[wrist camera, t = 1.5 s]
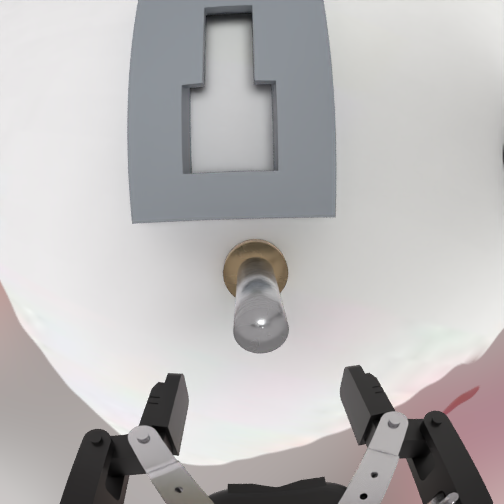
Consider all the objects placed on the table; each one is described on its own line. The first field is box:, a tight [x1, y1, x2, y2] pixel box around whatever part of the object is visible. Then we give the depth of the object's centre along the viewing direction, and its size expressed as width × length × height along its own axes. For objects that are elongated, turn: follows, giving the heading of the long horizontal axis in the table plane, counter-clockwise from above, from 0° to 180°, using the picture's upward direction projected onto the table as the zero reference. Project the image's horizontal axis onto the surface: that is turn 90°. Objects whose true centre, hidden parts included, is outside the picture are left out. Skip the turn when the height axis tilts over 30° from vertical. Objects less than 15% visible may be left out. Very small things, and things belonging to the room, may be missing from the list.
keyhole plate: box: [127, 0, 336, 224], centre depth 22 cm, size 18×26×4 cm
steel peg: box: [223, 239, 289, 353], centre depth 24 cm, size 6×6×12 cm
